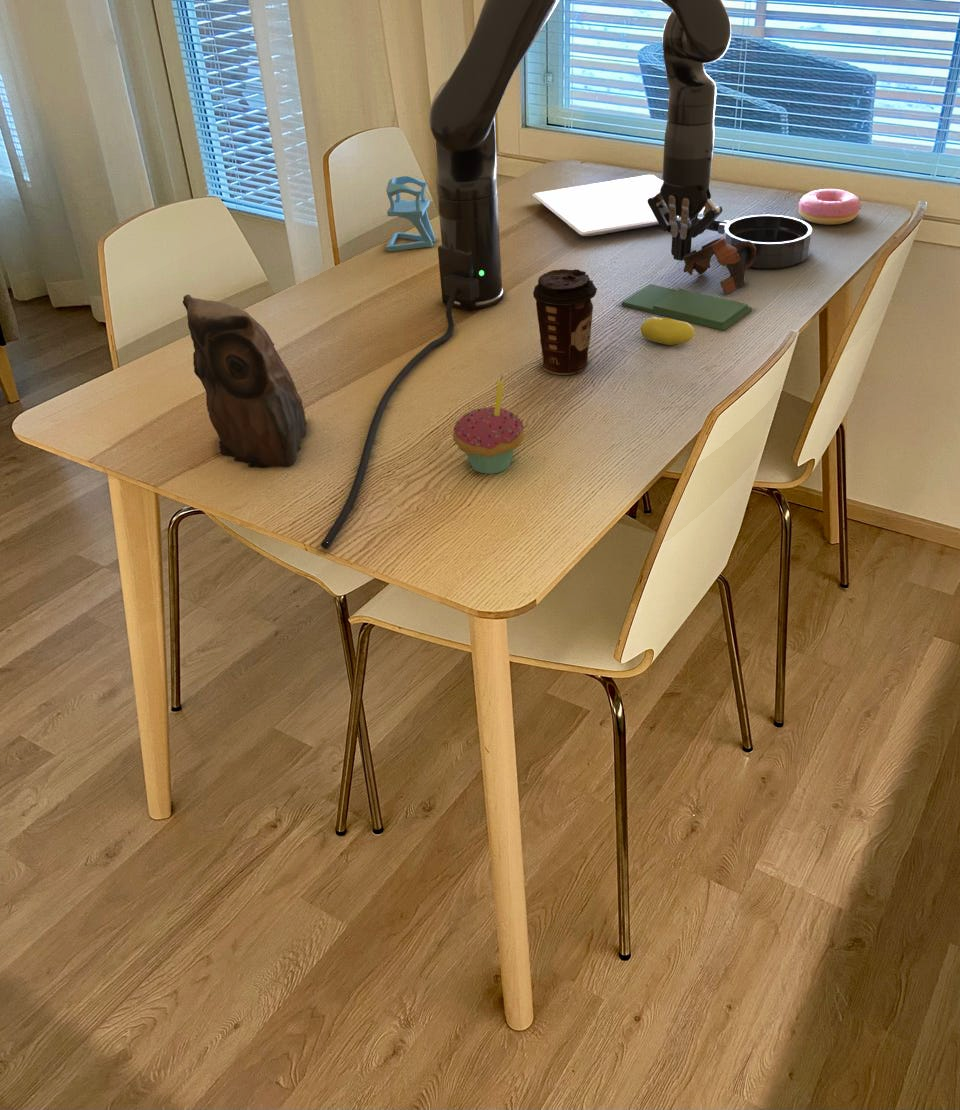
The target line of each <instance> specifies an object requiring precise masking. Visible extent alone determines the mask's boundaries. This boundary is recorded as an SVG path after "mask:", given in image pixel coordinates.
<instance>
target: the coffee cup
mask: <svg viewBox="0 0 960 1110" xmlns="http://www.w3.org/2000/svg"><path fill="white" fill-rule="evenodd" d="M597 291H598V288H597V287H596V285H595V284H594V280H593V279H592V280H591V278H590V276H589V274H587V272H586V271H583V270H580V269H576V268H575V269H565V268H563V269H562V268H561V269H553V270H549V271H547V272H546V273H543V274H542V275H540V276H539V277H538V279H537V284H536V285H535V286H534V289H533V292H532V295H533V298H534V300H535V306H536V314H537V315H536V316H537V322H538V332H539V343H540V348H541V356H542V369H543V370H544V371H545V372H547V373H550V374H553V375H558V376H559V375H560V376H561V375H562V376H568V375H573V374H577V373H581V372H582V371H583V370H585V369H586V367H587V366H588V358H589V357H588V355H589V354H588V353H589V347H590V343H591V342H590V341H591V334H592V333H591V332H592V322H593V311H594V304H593V302H592V299H593V298H594V297H595V296H596V294H597Z"/></svg>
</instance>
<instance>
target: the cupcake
mask: <svg viewBox="0 0 960 1110" xmlns="http://www.w3.org/2000/svg"><path fill="white" fill-rule="evenodd" d="M503 379H504V374H501V376H500V379H499V380H497V386H496V395H495V403H494V406H488V407H486V406H484V407H483V408H477V409H473V410H471V411H470V412H467V413H465V414H463V415H462V416H461V418H460V419H458V420H457V421H456V423H455V424H454V427H453V431H452V439H453V441H454V443H455V445H456V446H457V447H458V449H459V451H461V452H464V453H465V454H466V456H467V458H468V460H469V462H470V465H471V467H472V469H473V470H474V471H476V472H478V473H481V474H485V475H486V474H487V475H490V474H492V475H493V474H498V473H501V472H504V471H506V470H507V469H508V468H509V467H510V465H511V461H512V458H513V455H514V452H515V449H517V448H518V447H519V446H521V444H522V442H523V440H524V437H525V427H524V422H523V420H522V419H521V418H519V416H517V415H516V414H515V413H514V412H512V411H508V410H507V409H505V408H502V397H503V390H504V380H503Z"/></svg>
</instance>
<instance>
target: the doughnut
mask: <svg viewBox="0 0 960 1110" xmlns="http://www.w3.org/2000/svg"><path fill="white" fill-rule="evenodd" d="M797 207H798V213H799V215H800V216H801V218H803V219H804V220H805V221H807V222H810V223H813V224H818V225H828V226H829V225H830V226H831V225H841V224H846V223H849V222H851V221H854V219H855V218H857V216H858V215H859V213H860V210H862V203H861V199H859V196H857V195H856V194H854V193H853V192H850V191H847V190H844V189H838V188H837V189H836V188H823V189H816V190H811V191H808V192H806V193H805V194H803V196H802V197H800V200H799V202H798V204H797Z"/></svg>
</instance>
